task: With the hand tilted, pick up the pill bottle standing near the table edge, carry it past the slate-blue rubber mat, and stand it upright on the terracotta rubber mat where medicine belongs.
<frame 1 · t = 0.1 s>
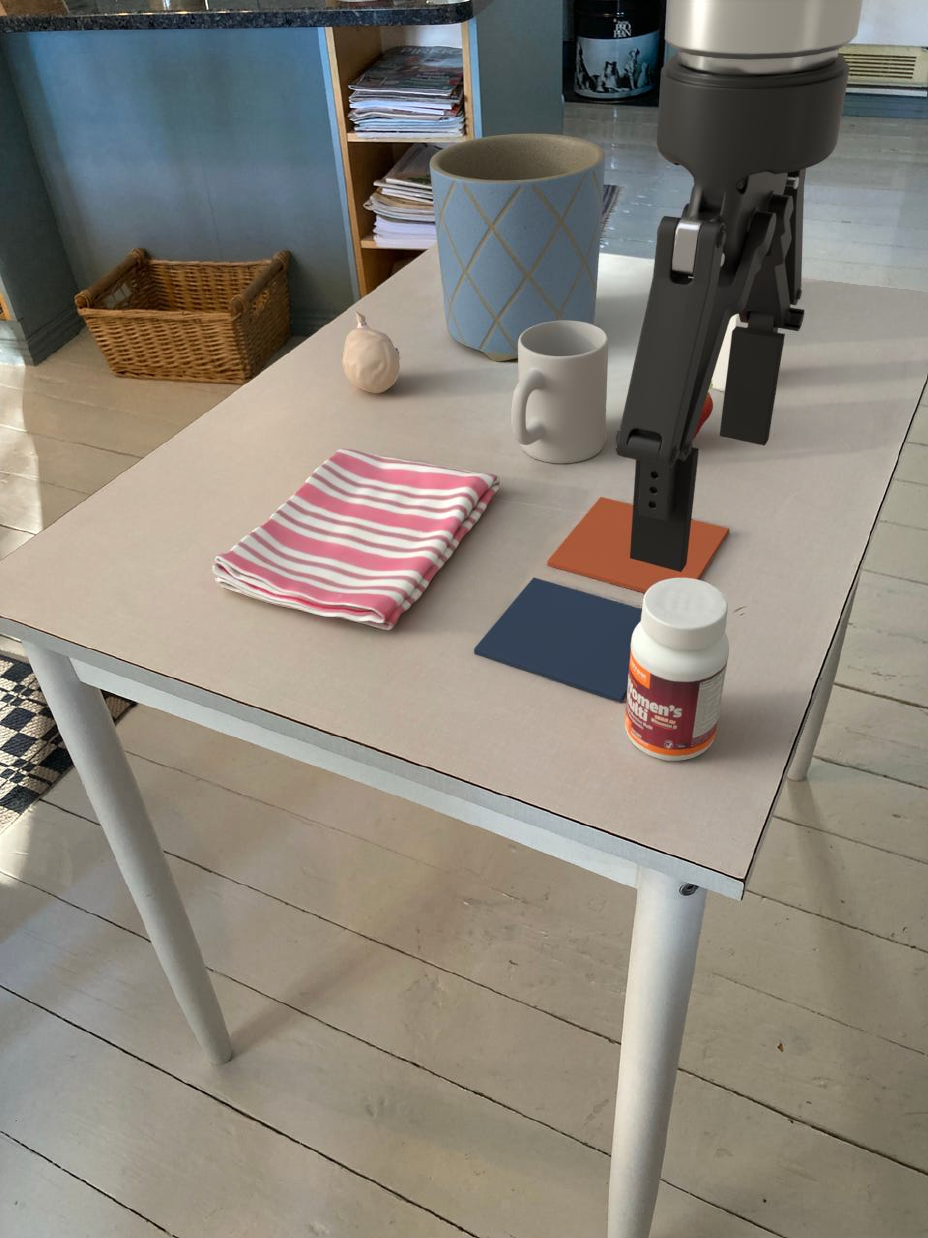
hand: (704, 495, 54), 20 cm above the table, tool pointing down, fingers open, 13 cm apart
garlic bulb: (374, 390, 111), on the table
pepper shaker: (729, 383, 108), on the table
terracotta mat: (639, 549, 85), on the table
fruit: (680, 447, 98), on the table
mug: (552, 451, 98), on the table
pill bottle: (669, 733, 68), on the table
planter: (520, 333, 121), on the table
dish towel: (366, 542, 88), on the table
slate blue mat: (574, 638, 76), on the table
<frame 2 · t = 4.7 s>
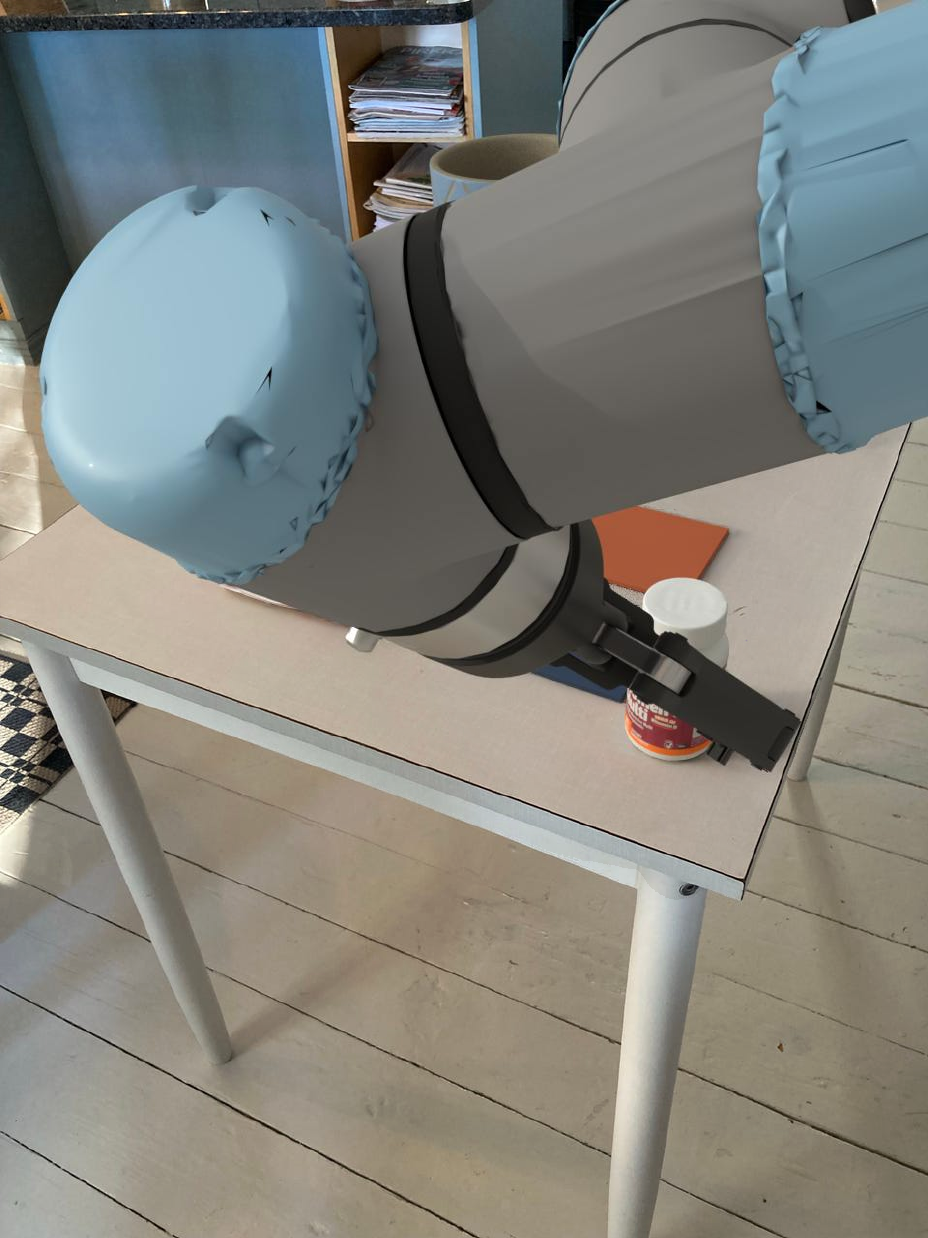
hand: (625, 657, 52), 15 cm above the table, tool tilted 40°, fingers open, 13 cm apart
nothing on the table moved.
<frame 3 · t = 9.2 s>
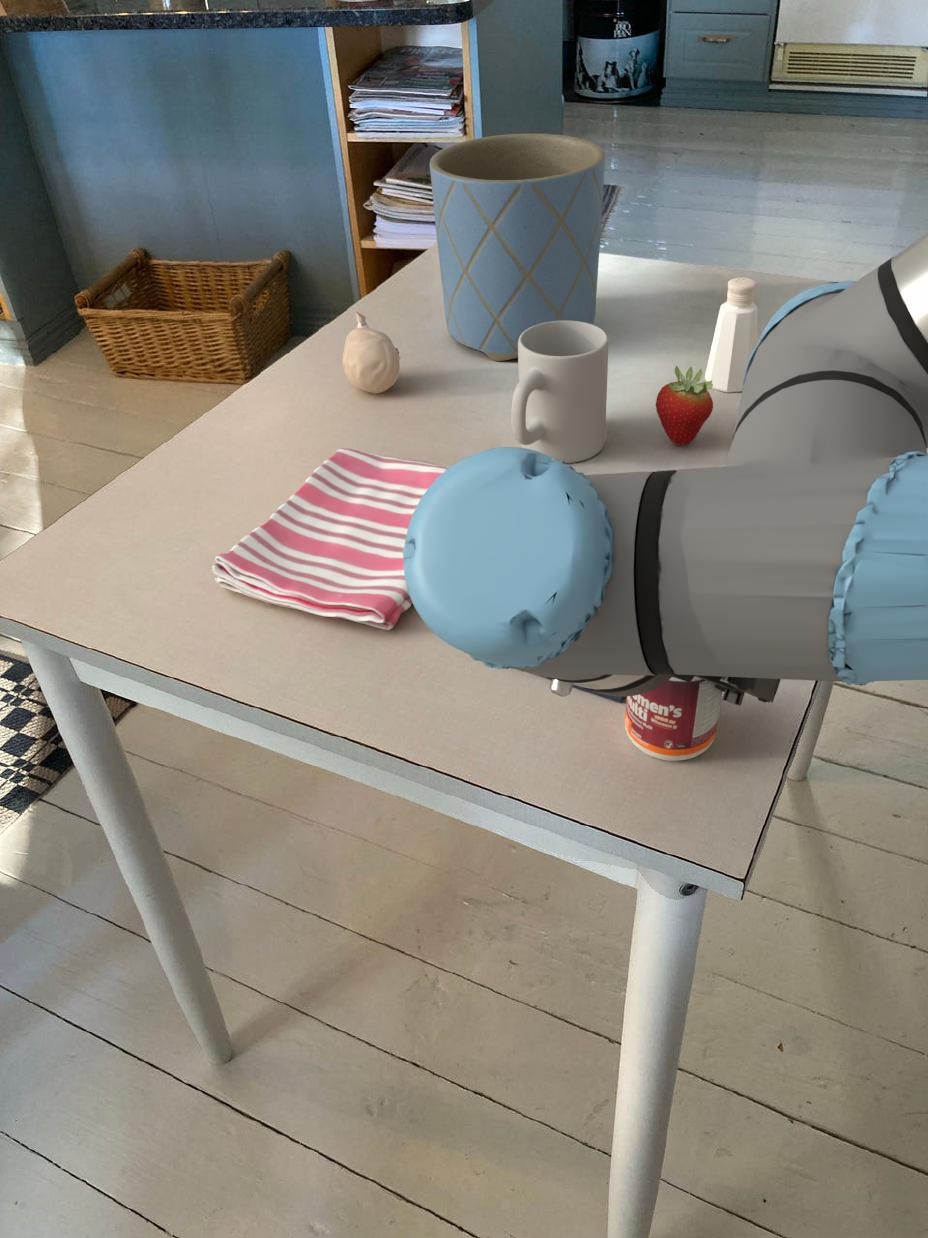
hand: (692, 662, 68), 3 cm above the table, tool tilted 45°, fingers closed on pill bottle, 6 cm apart
pill bottle: (669, 733, 68), on the table, touching gripper
everything else where it was.
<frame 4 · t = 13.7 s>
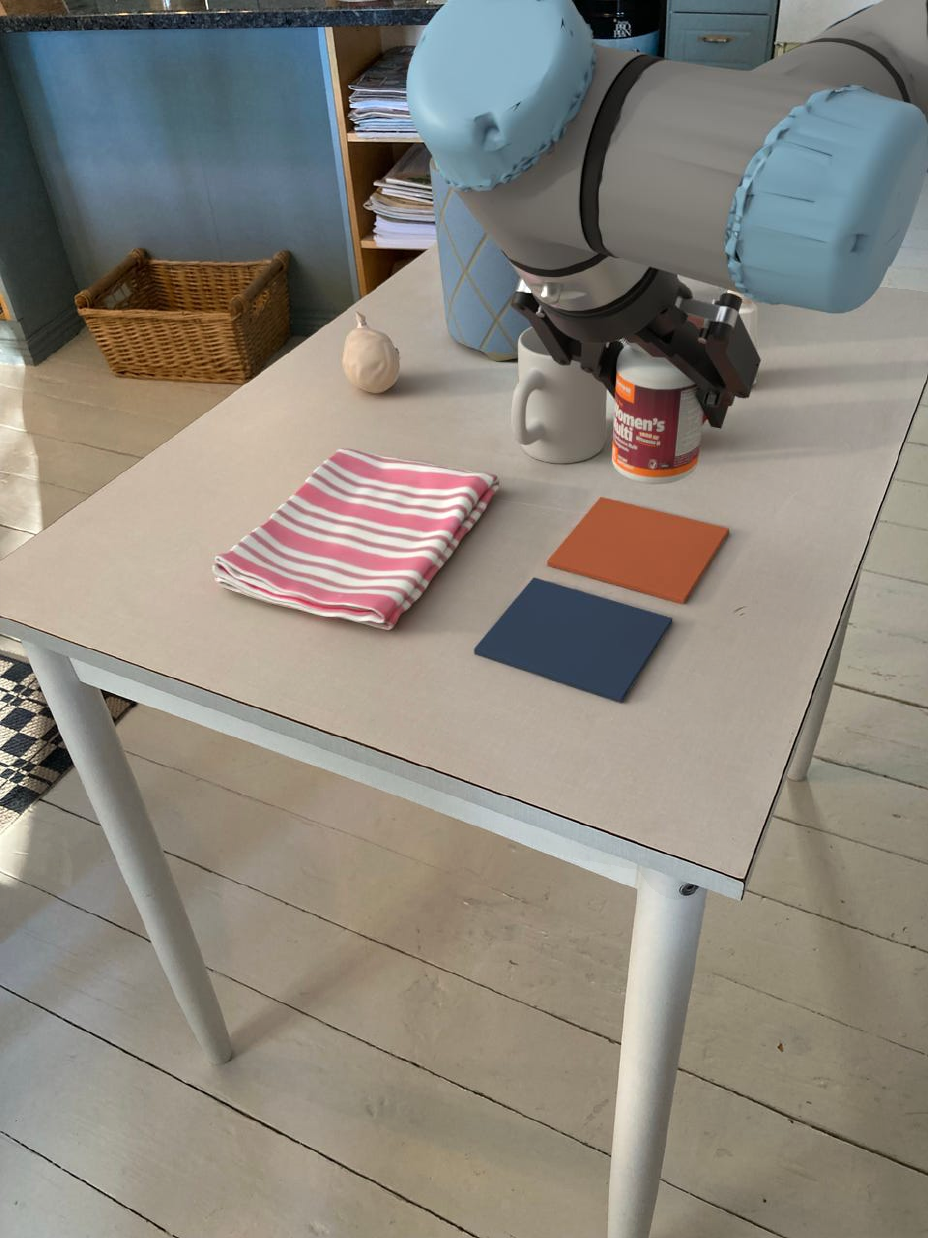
hand: (675, 400, 72), 15 cm above the table, tool tilted 45°, fingers closed on pill bottle, 6 cm apart
pill bottle: (654, 467, 72), point 12 cm above the table, touching gripper
everything else where it was.
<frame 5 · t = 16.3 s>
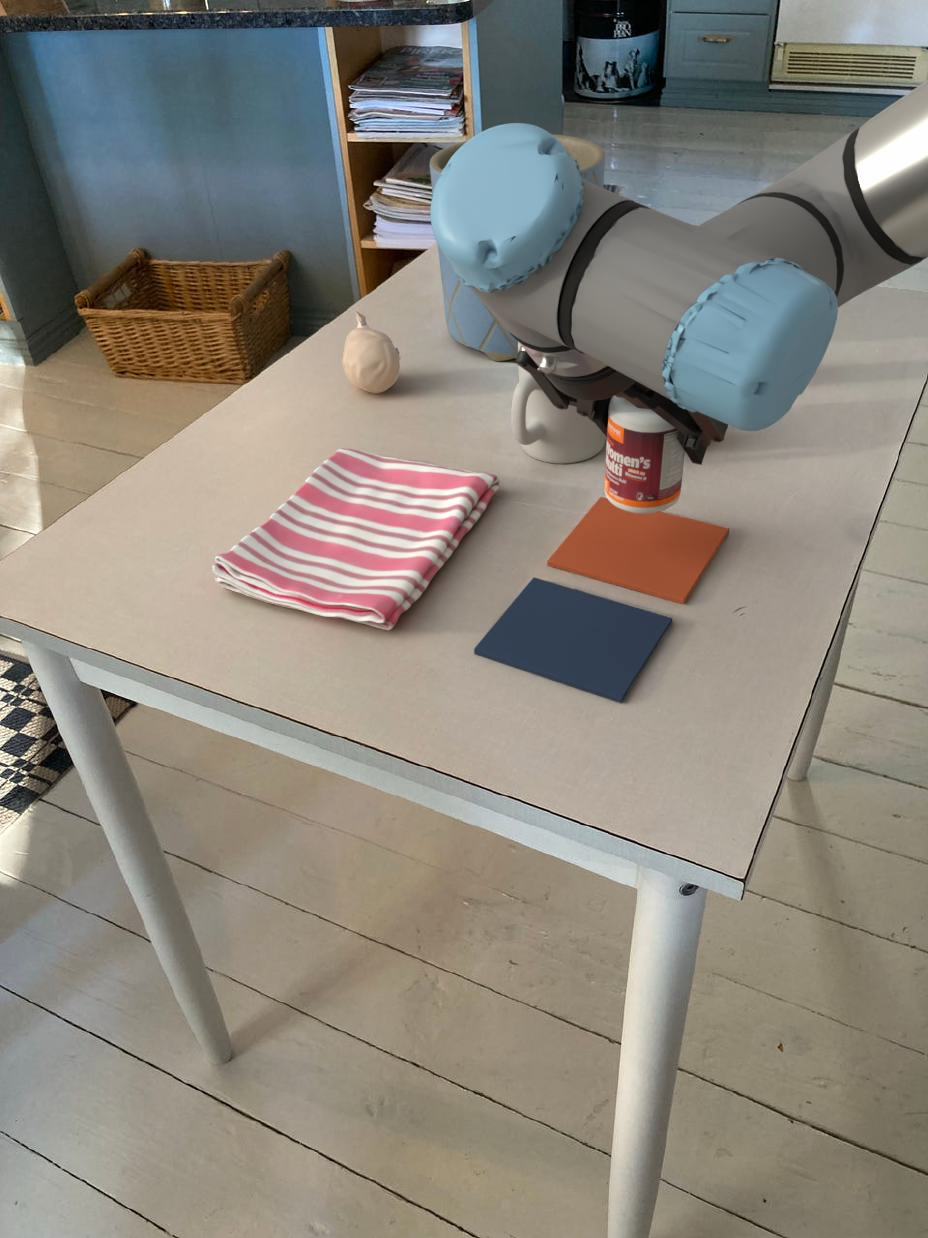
hand: (661, 438, 81), 9 cm above the table, tool tilted 45°, fingers closed on pill bottle, 6 cm apart
pill bottle: (642, 497, 81), point 5 cm above the table, touching gripper
everything else where it was.
when the fingers open (4 cm above the table, at t = 18.0 s): pill bottle stays where it is, resting on terracotta mat.
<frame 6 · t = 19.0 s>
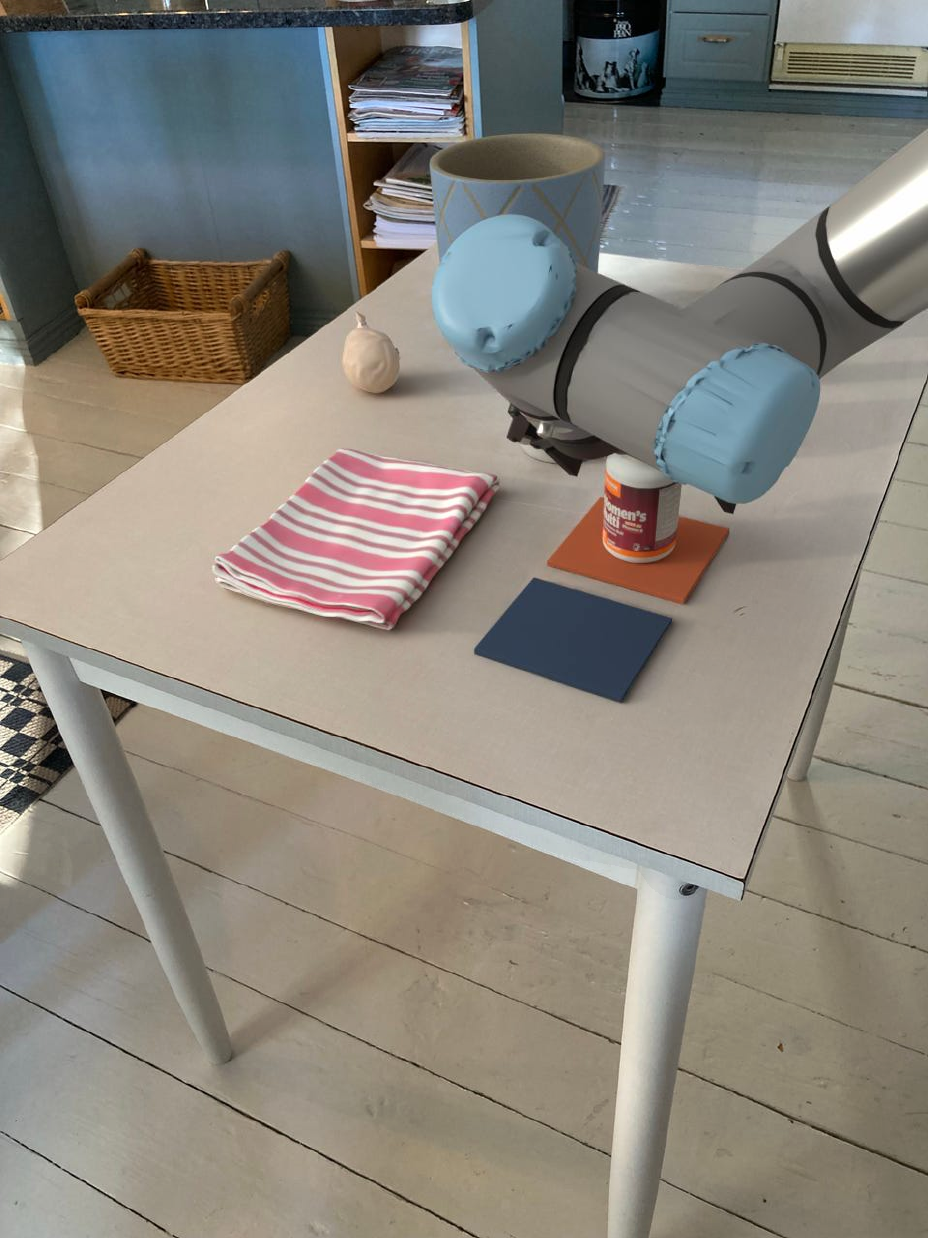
hand: (653, 478, 82), 6 cm above the table, tool tilted 45°, fingers open, 13 cm apart
pill bottle: (638, 546, 84), resting on terracotta mat
everything else where it was.
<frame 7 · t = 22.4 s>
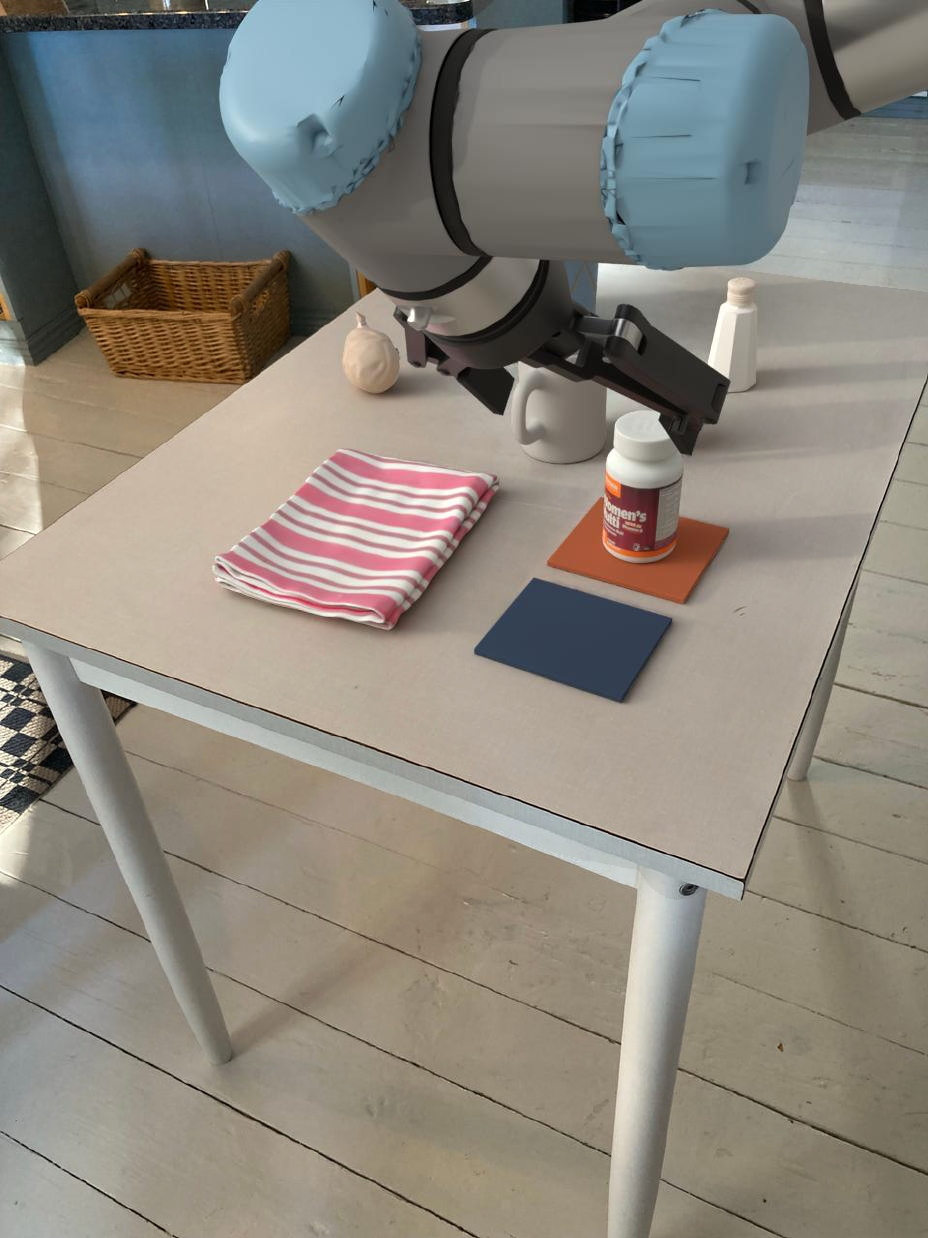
hand: (594, 414, 66), 18 cm above the table, tool tilted 45°, fingers open, 13 cm apart
nothing on the table moved.
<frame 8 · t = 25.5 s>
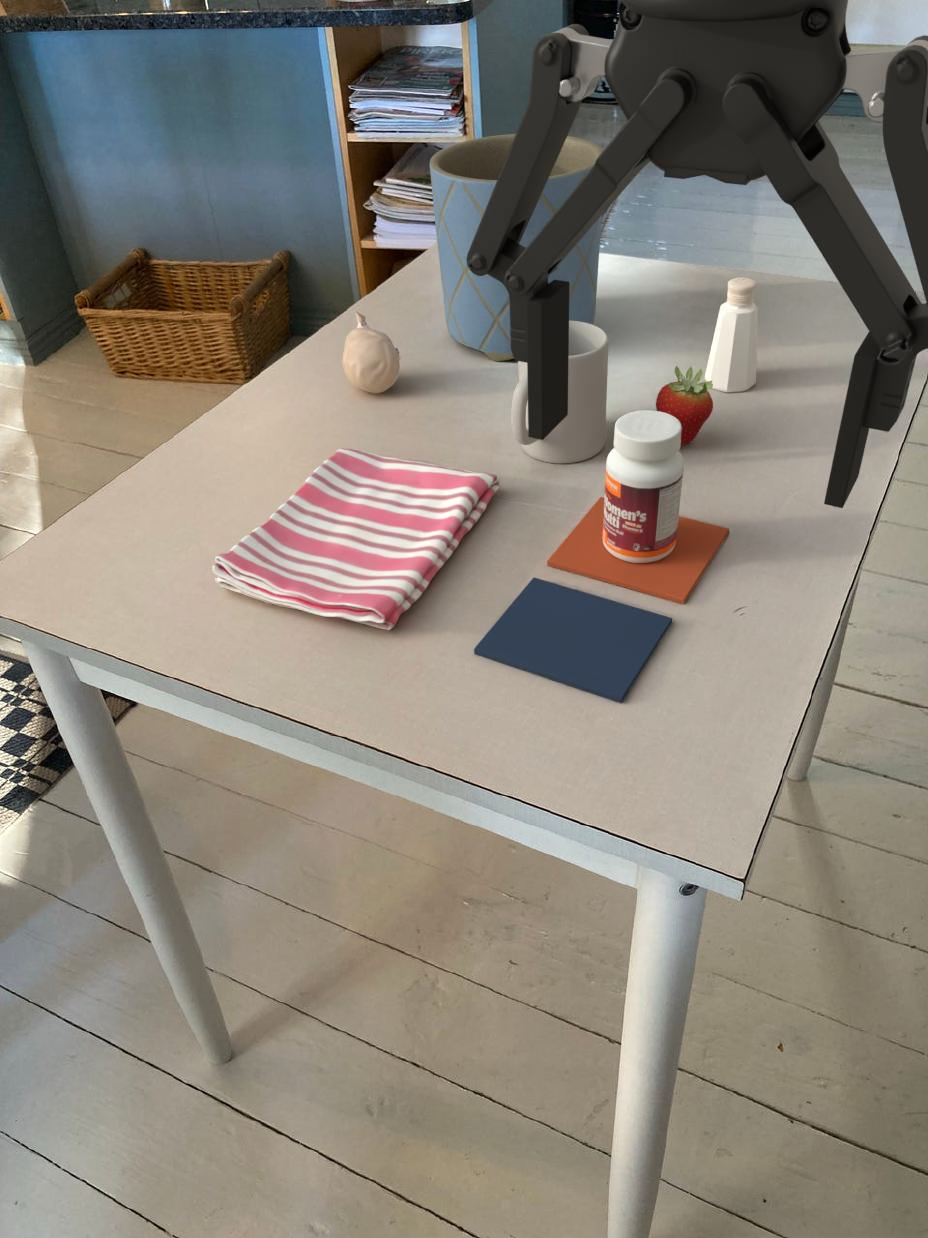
hand: (685, 456, 44), 27 cm above the table, tool pointing down, fingers open, 13 cm apart
nothing on the table moved.
at the end: pill bottle inside the target area on the terracotta mat (0.1 cm from its centre), point 0.3 cm above the terracotta mat's base; pill bottle tilted 0°; the gripper is holding nothing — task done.
